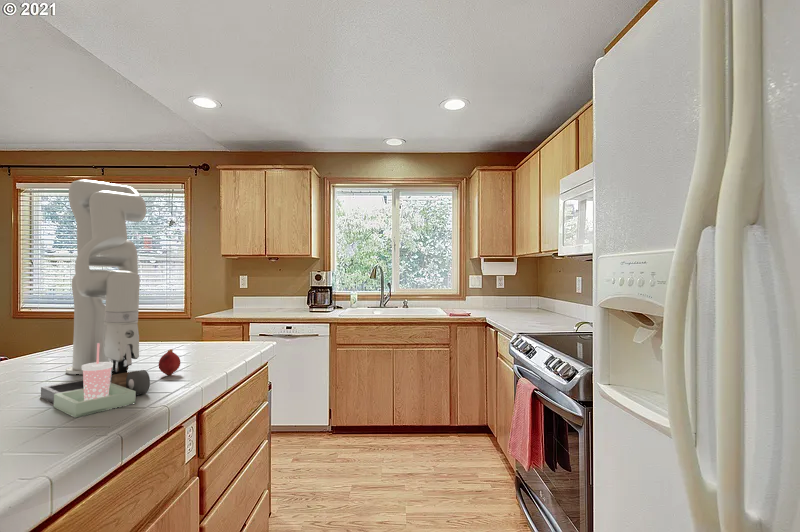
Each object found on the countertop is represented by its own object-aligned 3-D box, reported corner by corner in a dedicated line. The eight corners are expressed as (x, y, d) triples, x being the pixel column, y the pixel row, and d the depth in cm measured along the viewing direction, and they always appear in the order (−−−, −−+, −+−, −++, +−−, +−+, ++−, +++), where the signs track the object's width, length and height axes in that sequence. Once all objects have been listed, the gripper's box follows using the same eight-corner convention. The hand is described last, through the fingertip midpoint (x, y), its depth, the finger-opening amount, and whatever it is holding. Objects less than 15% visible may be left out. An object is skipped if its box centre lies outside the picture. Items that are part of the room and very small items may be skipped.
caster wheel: (124, 393, 107) (125, 370, 107) (138, 390, 109) (139, 368, 110) (136, 398, 103) (137, 374, 103) (150, 394, 106) (151, 371, 106)
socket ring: (40, 397, 102) (41, 387, 102) (87, 388, 111) (88, 378, 111) (56, 404, 97) (56, 394, 97) (104, 394, 105) (105, 385, 105)
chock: (111, 392, 108) (111, 375, 108) (135, 387, 113) (136, 370, 114) (120, 395, 106) (121, 377, 106) (145, 390, 111) (145, 373, 111)
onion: (170, 378, 123) (171, 351, 123) (153, 377, 124) (154, 350, 124) (184, 374, 128) (184, 348, 128) (168, 372, 129) (168, 347, 130)
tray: (53, 407, 95) (54, 394, 95) (112, 394, 105) (112, 383, 106) (75, 417, 89) (75, 403, 89) (135, 403, 99) (135, 391, 99)
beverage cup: (109, 404, 96) (111, 344, 96) (76, 408, 93) (79, 346, 94) (114, 397, 101) (116, 340, 102) (83, 400, 99) (85, 341, 99)
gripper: (150, 319, 111) (147, 387, 111) (124, 313, 119) (121, 377, 119) (119, 321, 105) (116, 393, 105) (93, 315, 113) (90, 382, 113)
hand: (118, 384), depth 112 cm, fingers closed
